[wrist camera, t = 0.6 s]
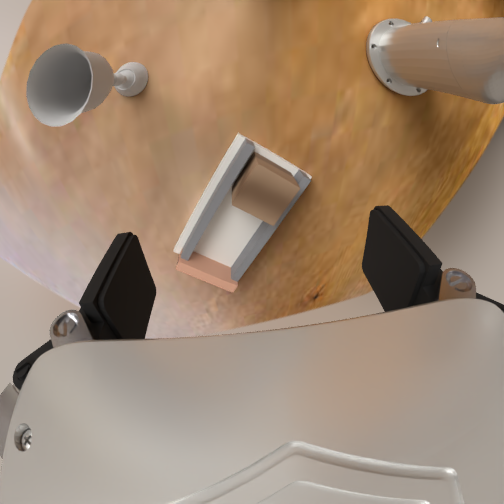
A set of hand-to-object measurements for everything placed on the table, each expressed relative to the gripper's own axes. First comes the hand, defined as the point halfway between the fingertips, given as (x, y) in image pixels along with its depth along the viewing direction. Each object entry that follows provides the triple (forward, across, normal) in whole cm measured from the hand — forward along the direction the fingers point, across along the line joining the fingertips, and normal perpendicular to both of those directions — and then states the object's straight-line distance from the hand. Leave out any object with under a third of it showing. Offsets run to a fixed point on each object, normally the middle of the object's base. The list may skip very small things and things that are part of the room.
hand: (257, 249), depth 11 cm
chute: (+29, +2, +13) cm, 31 cm away
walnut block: (+28, -2, +7) cm, 29 cm away
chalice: (+29, +14, -10) cm, 34 cm away
